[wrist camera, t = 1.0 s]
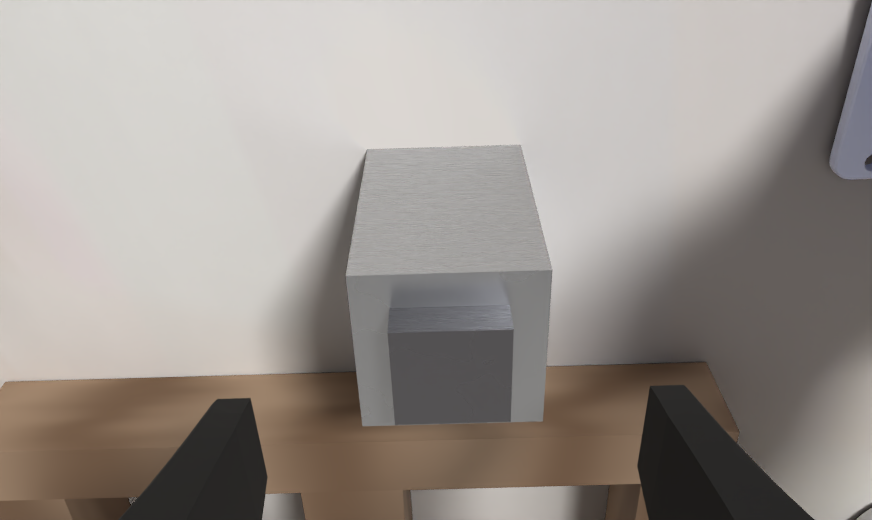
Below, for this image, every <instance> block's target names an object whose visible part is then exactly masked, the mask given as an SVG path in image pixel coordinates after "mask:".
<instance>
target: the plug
mask: <svg viewBox="0 0 872 520" xmlns="http://www.w3.org/2000/svg"><path fill="white" fill-rule="evenodd" d="M551 283H552V267H551V263H550V259H549V255H548V251H547V247H546V243H545V239H544V235H543V231H542V227H541V223H540V219H539V215H538V211H537V207H536V203H535V200H534V196H533V192H532V188H531V184H530V180H529V176H528V172H527V168H526V164H525V160H524V156H523V152H522V148H521V145H495V146H463V147H430V148H398V149H367V154H366V159H365V165H364V171H363V177H362V183H361V189H360V194H359V200H358V206H357V212H356V218H355V223H354V229H353V235H352V241H351V247H350V253H349V258H348V264H347V270H346V285H347V294H348V303H349V312H350V320H351V329H352V338H353V347H354V356H355V365H356V374H357V382H358V391H359V400H360V409H361V418H362V426H393V425H430V424H467V423H504V422H541V421H543V411H544V395H545V379H546V363H547V347H548V331H549V315H550V299H551Z"/></svg>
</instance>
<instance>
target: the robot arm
mask: <svg viewBox="0 0 872 520" xmlns="http://www.w3.org/2000/svg"><path fill="white" fill-rule="evenodd" d="M870 155H872V3H871V7H870V11H869V14H868V18H867V22H866V26H865V29H864V33H863V37H862V40H861V44H860V48H859V51H858V55H857V59H856V63H855V66H854V70H853V74H852V77H851V81H850V85H849V88H848V92H847V96H846V99H845V103H844V107H843V111H842V114H841V118H840V122H839V125H838V129H837V133H836V136H835V140H834V144H833V148H832V151H831V155H830V163H829V165H830V167H831V169H832V170H833V171H834V172H835V173H836V174H837V175H838V176H840V177H841V178H843V179H849V180H852V179H872V163H871V164H867V165H865V161H866V159H867V158H868V157H869V156H870ZM637 468H638V472H639V477H640V482H641V487H642V492H643V496H644V501H645V505H646V510H647V514H648V518H649V520H814V519H813V518H812V517H811V516H810V515H809V514H808V513H806V512H805V511H804V510H803V509H802V508H801V507H800V506H799V505H798V504H797V503H796V502H795V501H794V500H793V499H791V498H790V497H789V496H788V495H787V494H786V493H785V492H784V491H783V490H782V489H781V488H780V487H779V486H778V485H777V484H776V483H775V482H774V481H773V480H772V479H771V478H770V477H769V476H768V475H767V474H766V473H765V472H764V471H763V470H762V469H761V468H760V467H759V466H758V465H757V464H756V463H755V462H754V461H753V460H752V459H751V458H750V457H749V456H748V455H747V454H746V453H745V451H744V450H743V449H742V448H741V447H740V446H739V445H738V444H737V443H736V442H735V441H734V440H733V439H732V437H731V436H730V435H729V434H728V433H727V432H726V431H725V430H724V429H723V428H722V426H721V425H720V424H719V423H718V422H717V421H716V420H715V419H714V417H713V416H712V415H711V414H710V413H709V412H708V411H707V410H706V408H705V407H704V406H703V405H702V404H701V403H700V402H699V400H698V399H697V398H696V397H695V396H694V395H693V394H692V393H691V391H690V390H689V389H688V388H687V387H686V386H685V385H662V386H650V389H649V395H648V401H647V408H646V414H645V420H644V426H643V433H642V439H641V445H640V451H639V458H638V464H637ZM267 478H268V476H267V472H266V467H265V462H264V458H263V453H262V448H261V444H260V439H259V434H258V430H257V425H256V421H255V416H254V411H253V407H252V402H251V398H232V399H217V400H216V401H215V402H214V403H212V405H211V406H210V407H209V409H208V410H207V411H206V413H205V414H204V415H203V417H202V418H201V419H200V421H199V422H198V423H197V425H196V426H195V427H194V429H193V430H192V431H191V433H190V434H189V435H188V437H187V438H186V439H185V440H184V442H183V443H182V444H181V446H180V447H179V448H178V449H177V451H176V452H175V453H174V455H173V456H172V457H171V458H170V460H169V461H168V462H167V463H166V465H165V466H164V467H163V468H162V469H161V471H160V472H159V473H158V474H157V476H156V477H155V478H154V479H153V480H152V482H151V483H150V484H149V485H148V486H147V488H146V489H145V490H144V491H143V492H142V494H141V495H140V496H139V497H138V498H137V499H136V500H135V502H134V503H133V504H132V505H131V506H130V507H129V508H128V509H127V510H126V512H125V513H124V514H123V515H122V516H121V517H120V518H119V519H118V520H262V514H263V507H264V500H265V493H266V485H267Z"/></svg>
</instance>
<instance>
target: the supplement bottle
mask: <svg viewBox="0 0 872 520" xmlns="http://www.w3.org/2000/svg"><path fill="white" fill-rule="evenodd" d="M856 520H872V508H870V509H869V510H867V511H866V512H864V513H863V514H862V515H861V516H859V517H858V518H857V519H856Z"/></svg>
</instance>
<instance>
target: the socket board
mask: <svg viewBox="0 0 872 520" xmlns="http://www.w3.org/2000/svg"><path fill="white" fill-rule="evenodd" d="M662 385H685V386H686V387H687V388H688V389H689V390H690V391H691V393H692V394H693V395H694V396H695V397H696V398H697V399H698V400H699V402H700V403H701V404H702V405H703V406H704V407H705V408H706V410H707V411H708V412H709V413H710V414H711V415H712V416H713V417H714V419H715V420H716V421H717V422H718V423H719V424H720V425H721V426H722V428H723V429H724V430H725V431H726V432H727V433H728V434H729V435H730V436H731V437H732V439H733V440H734V441H735V442H736V443H737V440H738V436H739V430H738V428H737V426H736V424H735V421H734V419H733V417H732V415H731V413H730V411H729V409H728V407H727V405H726V403H725V401H724V399H723V396H722V394H721V392H720V390H719V388H718V386H717V384H716V382H715V380H714V378H713V376H712V374H711V371H710V369H709V367H708V365H707V363H706V362H696V363H660V364H625V365H589V366H554V367H546V379H545V395H544V411H543V421H541V422H504V423H467V424H430V425H393V426H362V418H361V409H360V400H359V391H358V382H357V374H356V372H340V373H305V374H269V375H234V376H198V377H163V378H127V379H92V380H56V381H21V382H5V383H4V385H3V386H2V387H1V389H0V520H118V519H119V518H120V517H121V516H122V515H123V514H124V513H125V512H126V510H127V509H128V508H129V507H130V506H131V505H130V503H129V500H128V497H139V496H140V495H141V494H142V492H143V491H144V490H145V489H146V488H147V486H148V485H149V484H150V483H151V482H152V480H153V479H154V478H155V477H156V476H157V474H158V473H159V472H160V471H161V469H162V468H163V467H164V466H165V465H166V463H167V462H168V461H169V460H170V458H171V457H172V456H173V455H174V453H175V452H176V451H177V449H178V448H179V447H180V446H181V444H182V443H183V442H184V440H185V439H186V438H187V437H188V435H189V434H190V433H191V431H192V430H193V429H194V427H195V426H196V425H197V423H198V422H199V421H200V419H201V418H202V417H203V415H204V414H205V413H206V411H207V410H208V409H209V407H210V406H211V405H212V403H214V402H215V401H216V400H217V399H232V398H251V402H252V407H253V411H254V416H255V421H256V425H257V430H258V434H259V439H260V444H261V448H262V453H263V458H264V462H265V467H266V472H267V476H268V478H267V485H266V493H265V494H276V493H301V498H302V503H303V509H304V514H305V519H306V520H412V506H411V492H410V490H426V489H464V488H502V487H539V486H577V485H609V493H608V500H607V507H606V515H605V520H649V518H648V514H647V510H646V505H645V501H644V496H643V492H642V487H641V482H640V477H639V472H638V468H637V464H638V458H639V451H640V445H641V439H642V433H643V426H644V420H645V414H646V408H647V401H648V395H649V389H650V386H662Z"/></svg>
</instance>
